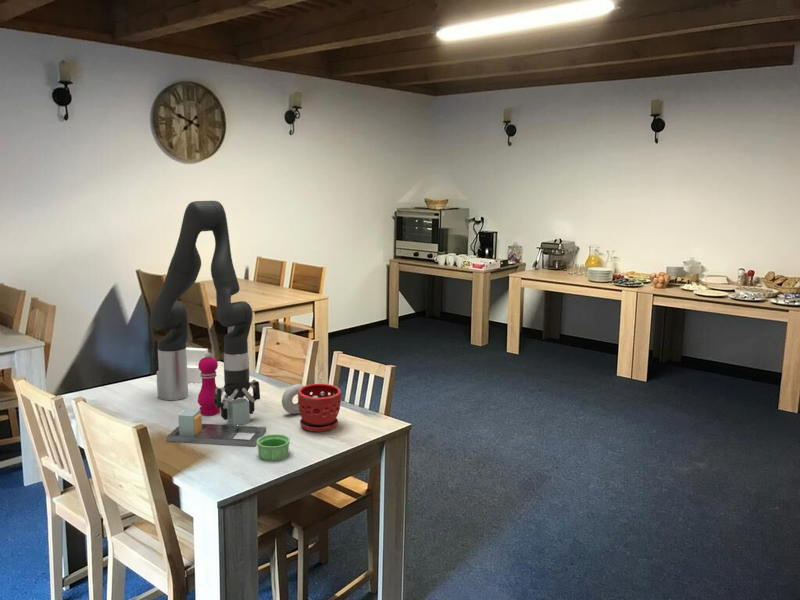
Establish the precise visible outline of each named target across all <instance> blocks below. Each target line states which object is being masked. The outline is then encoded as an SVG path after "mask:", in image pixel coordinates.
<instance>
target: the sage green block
mask: <svg viewBox="0 0 800 600" xmlns="http://www.w3.org/2000/svg"><path fill="white" fill-rule="evenodd" d="M202 416H203V415H202V414H201V413H200V409H196V408H192V409H191V408H186V409H184V410H183V411H182V412H180V414H178V416H177V417H178V418H177V420H178V426H179V435H180V436H197V435H198V434H199V433H200V432H201V431H202V424H203V422H202V421H203V418H202Z"/></svg>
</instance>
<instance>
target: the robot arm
mask: <svg viewBox="0 0 800 600" xmlns="http://www.w3.org/2000/svg"><path fill="white" fill-rule="evenodd" d="M182 217H183V218H182V221H181V228H180V232H179V236H178V240H177V243H176V246H175V250H174V252H173V254H172V258H171V260H170V263H169V266H168V269H167V272H166V275H165V279H164V281H163V283H162V286H161V289H160V291H159V293H158V295H157V297H156V299H155V301H154V303H153V305H152V307H151V310H150V323H151V326H152V328H153V329H154V330H156V331H168V330H169V332H168V333H167V334H166V335H164V337H161V338H160V339H158V341H157V359H158V370H157V371H156V388H157V390H156V392H157V399H162V400H164V401H177V400H182V399H185V398H187V397H188V396H189V383H188V377H187V355H186V348H187V342H188V320H189V319H188V310H187V307H186V304H184V303H183V302H182V301H180V300H179V298H181V296H183V295H184V294H185V293H186V292H187V291H188V290H190V289H191V287H192V286H193V285H194V284H195V282H196V281H197V279H198V276H199V274H200V271H201V268H202V259H201V256H200V253H199V250H198V249H197V239H198V237H199V235H200V233H202V232H212V234H213V237H214V243H215V244H214V251H213V255H212V258H211V262H210V263H211V265H210V276H211V278H212V282H213V286H214V288H215V292H216V293H215V294H216V297H215V298H216V317H217V321H218V322H219V324H221V326H223V327H225V328H231V327H233V329H232V330H231V331H230V332H227V334H225V335H224V337H223V350H224V351H223V353H224V354H223V378H224V379H223V381H224V385H223V387H222V386H221V387H218V386H217V387H216V388H215V389H214V405H215V406H216V407H217V408H220V417H221V418H222V419H223V420H225V421H227V420H228V412H227V406H228V404H229V403H231V401H232V400H234V399H239V398H244V399H246V400H248V401H249V413H250V415H253V414H254V412H255V411H256V409H255V402H256V401H257V400H261V390H260V382H259V381H258V380H256V379H253V380H251V381H250V357H249V348H248V346H249V345H248V338H249V335H250V330H251V326H252V321H253V316H254V315H253V309H252V306H251V305H250V304H249V303H248V302H247V301H244V300H242V301H241V300H239V301H235V302H232V296H234V295H237V294H238V293H239V292H240V285H239V281H238V277H237V274H236V270H235V268H234V263H233V258H232V251H231V250H232V249H231V243H230V234H229V227H228V221H227V220H228V219H227V214H226V211H225V208H224V205H222V203H221V202H220V201H218V200H196V201H195V200H194V201H191V202H190V203H188V204H187V206H186V208H185V211H184V213H183V216H182ZM251 388H252V394H251V393H250V392H249V390H250V389H251ZM224 392H225V394H224ZM223 394H224V395H223ZM222 395H223V397H222Z"/></svg>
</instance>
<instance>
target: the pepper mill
mask: <svg viewBox="0 0 800 600" xmlns="http://www.w3.org/2000/svg"><path fill="white" fill-rule="evenodd" d="M218 367H219V363H218V360H217V359H216V358H214V357H213V356H212V357H211V353H210V352H208V353H206V354H205V358H202V359H201V360H200V361H199V364H198V368H199V370H200V371H201V373H200V374H201V376H200V377H201V378H202V383H201V387H200V390H199V393H198V396H197V403H198V405H199V406H200V407H199V410H200V413H201V414H202V416H215V415H217V414H219V413H221V408H217V407H216V406H215V405H214V389H215V388H216V387H218V386H217V384H216V378H217V371H216V370H217V369H218Z"/></svg>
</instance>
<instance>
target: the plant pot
mask: <svg viewBox="0 0 800 600" xmlns="http://www.w3.org/2000/svg"><path fill="white" fill-rule="evenodd" d="M321 393H324V394H321ZM329 394H330V395H329ZM341 402H342V390H341V388H339V387H338V386H336V385H332V384H328V383H312V384H307V385H304V387H302V388H300V389H299V391H298V394H297V403H298V406H299V411H300V413H299V414H300V416H301V419H300V420H299V423H300V426H301V427H302V428H303V429H305V430H307V431H311V432H315V431H316V432H319V433H321V431H322V432H327V431H330V430H333V429H334V428H335V427H336V426H337V425H338V423H339V420H338V418H337V417H338V415H339V413H340V409H341ZM316 432H315V433H316Z"/></svg>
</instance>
